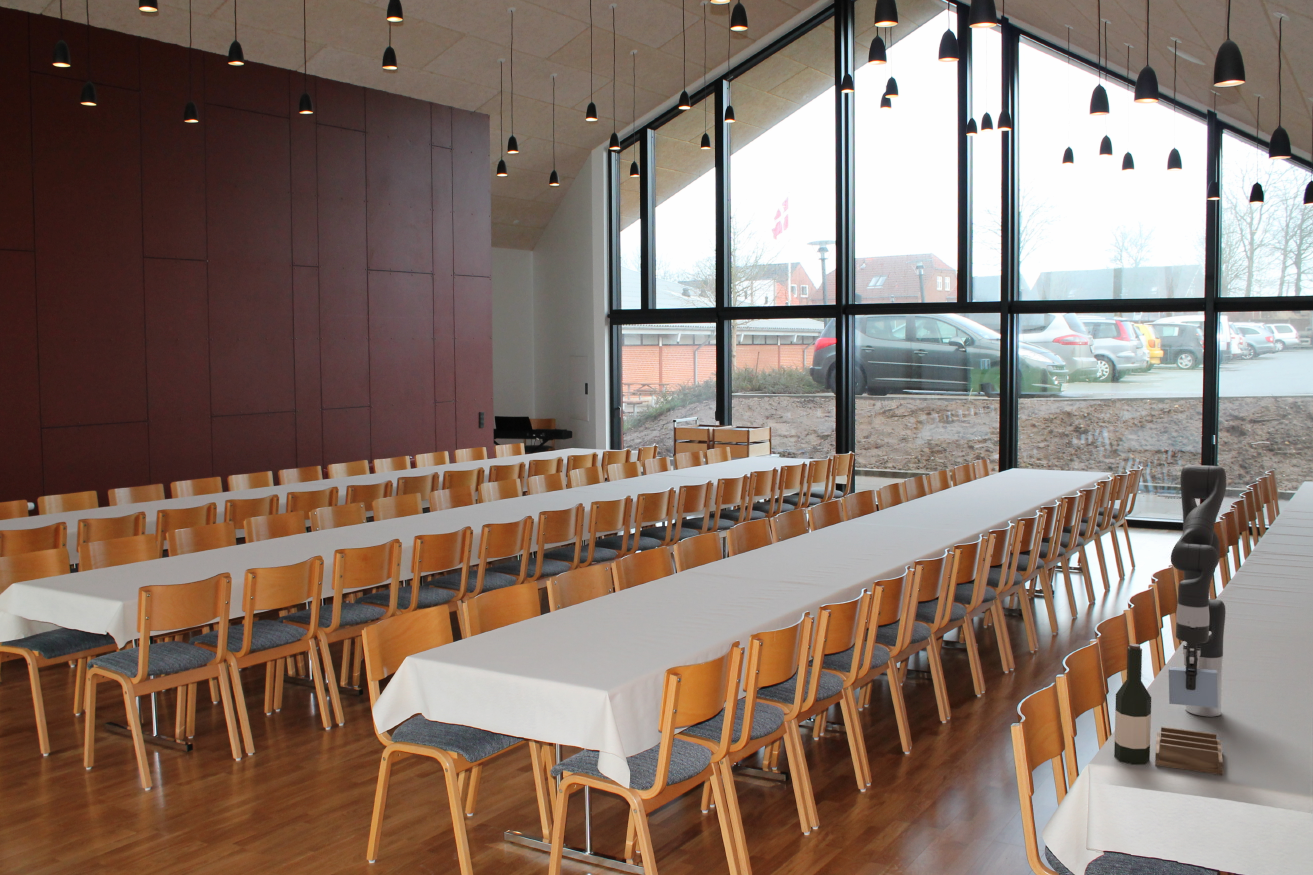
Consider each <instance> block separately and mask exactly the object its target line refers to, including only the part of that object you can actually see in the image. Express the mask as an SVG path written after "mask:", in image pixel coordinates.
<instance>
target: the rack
mask: <svg viewBox="0 0 1313 875" xmlns="http://www.w3.org/2000/svg"><path fill="white" fill-rule="evenodd" d="M1217 736H1218V735H1217V733H1214V732H1207V731H1206V732H1205V731H1197V730H1189V729H1182V728H1177V727H1176V728H1175V727H1168V726H1160V731H1157V732H1156V741H1155V742H1156V744H1155V760H1154V761H1155V762H1154V763H1155V764H1154V765H1155V766H1159V765H1160V767H1165V766H1166V768H1173V769H1180V770H1187V771H1192V772H1193V771H1194V772H1200V773H1207V774H1213V775H1219V776H1220V775H1222V776H1223V753H1222V742H1221V739H1220V740H1219V739H1217Z"/></svg>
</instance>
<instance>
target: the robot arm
mask: <svg viewBox="0 0 1313 875" xmlns="http://www.w3.org/2000/svg"><path fill="white" fill-rule="evenodd" d="M1179 481H1180V485H1179V486H1180V494H1181V506H1182V507H1181V508H1182V535H1181V536H1180V537H1179V539H1178V541H1177V542H1176V543H1175V545H1174V547H1173V548H1172V550H1171V554H1170V562H1171V564H1172V566H1173V567H1174V568H1175V569H1176V570H1178V571H1182V572H1183V579H1182V580H1181V581H1179V583H1178V586H1177V607H1176V614H1175V615H1176V618H1175V638H1176V639H1177V640H1178V641H1180V642H1181V641H1182V642H1185V643H1186V644H1183V645H1182V646H1183V647H1182V654H1183V666H1185V667H1184V668H1186V671H1185V674H1186V689H1187V690H1195V689H1196V676H1197V669H1208V670H1217V694H1218V708H1214V707H1202V706H1190V705H1184V707H1185V709H1184V710H1185V711H1186V712H1188V713H1190V714H1192V715H1195V716H1200V717H1210V718H1211V717H1217V716H1218V717H1219V716H1221V715H1222V698H1223V697H1222V696H1223V693H1222V692H1223V670H1224V668H1223V667H1224V666H1223V663H1224V634H1225V633H1224V632H1225V624H1226V604H1225V603H1224V601H1223V600H1221V599H1220V600H1219V599H1213V598H1210V587H1211V583H1212V579H1213V576H1214V573H1215V570H1216V568H1217V566H1218V565H1219V562H1220V539H1219V536H1218V534H1217V533H1216V531H1215V524H1216V521H1217V518H1218V515H1219V512H1220V510H1221V508H1222V504H1223V501H1224V498H1225V495H1226V489H1227V473H1226V471H1225V469H1224V468H1223V467H1222V466H1217V465H1198V464H1194V465H1193V464H1188V465H1185V466H1183V467H1182V469H1181V472H1180V478H1179ZM1196 499H1197V500H1203V502H1201V503H1200V504H1199V505H1198V504H1197V501H1196ZM1210 633H1211V634H1210ZM1188 669H1194V671H1193V670H1188Z"/></svg>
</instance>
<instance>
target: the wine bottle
mask: <svg viewBox="0 0 1313 875" xmlns="http://www.w3.org/2000/svg"><path fill="white" fill-rule="evenodd" d="M1126 651H1127V652H1126V656H1127V657H1126V659H1127V660H1126V680H1125V681H1124V682H1123V683H1122V685H1121V687H1119V689H1118V690H1117V692H1116V693H1115V709H1114V710H1115V712H1114V713H1115V714H1114V722H1115V723H1114V751H1113V752H1114V754H1113V755H1114V756H1113V757H1114V758H1115V759H1116V760H1118V761H1119V762H1120V763H1125V764H1128V765H1132V766H1133V765H1136V766H1137V765H1143V766H1144V765H1146V764H1148V763H1149V762H1150V761H1151V759H1150V758H1151V756H1150V755H1151V729H1152V727H1151V723H1152V720H1151V719H1152V696H1151V695H1150V693H1149V691H1148V690H1147V688H1146V686H1145V685H1144V683H1143V681H1142V669H1143V668H1142V664H1143V663H1142V662H1143V649H1142V648H1141V645H1140V644H1138V643H1130V644H1129V645H1128V647H1127V650H1126ZM1147 762H1148V763H1147Z"/></svg>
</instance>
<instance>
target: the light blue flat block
mask: <svg viewBox="0 0 1313 875" xmlns="http://www.w3.org/2000/svg"><path fill="white" fill-rule="evenodd" d="M1188 670H1193V671H1194V669H1188ZM1185 671H1186V668H1185V667H1178V666H1168V697H1169V703H1168V704H1170V705H1179V706H1180V705H1181V706H1185V705H1190V706H1202V707H1214V708H1218V694H1217V670H1208V669H1197V676H1196V689H1195V690H1187V689H1186V674H1185Z"/></svg>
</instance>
